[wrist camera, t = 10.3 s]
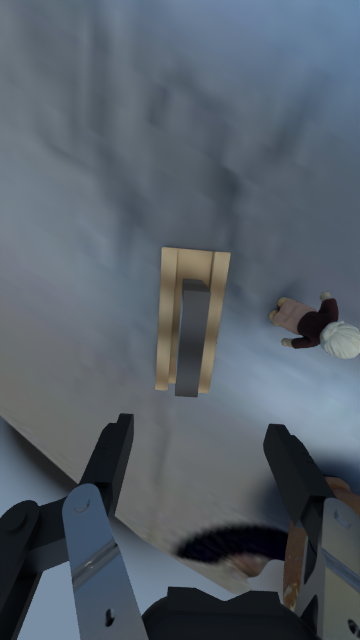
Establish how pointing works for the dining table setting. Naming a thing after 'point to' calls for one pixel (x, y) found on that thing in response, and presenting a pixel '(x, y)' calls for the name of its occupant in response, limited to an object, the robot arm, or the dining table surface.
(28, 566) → the robot arm
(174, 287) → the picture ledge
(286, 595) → the jug
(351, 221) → the dining table surface
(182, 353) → the dark grey block
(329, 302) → the grandmother figurine
